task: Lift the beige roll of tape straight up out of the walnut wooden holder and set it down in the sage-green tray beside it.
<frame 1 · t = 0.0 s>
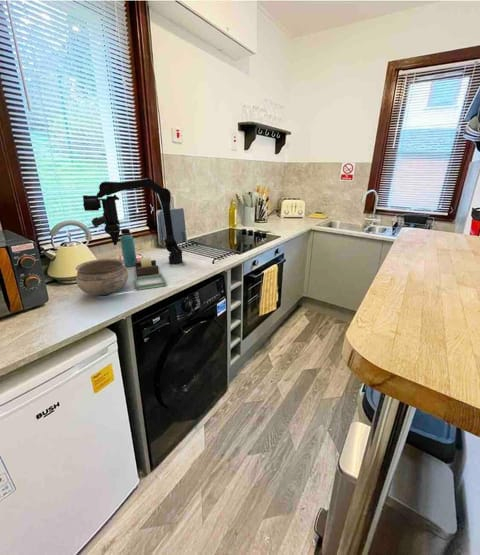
hand: (115, 242, 132), 15 cm above the table, tool pointing down, fingers open, 9 cm apart
beverage bottle: (131, 267, 144), on the table
tray: (150, 283, 123), on the table
tape roll: (147, 271, 134), point 1 cm above the table, touching tape holder
tape holder: (147, 273, 135), on the table
brown bowl: (106, 293, 114), on the table
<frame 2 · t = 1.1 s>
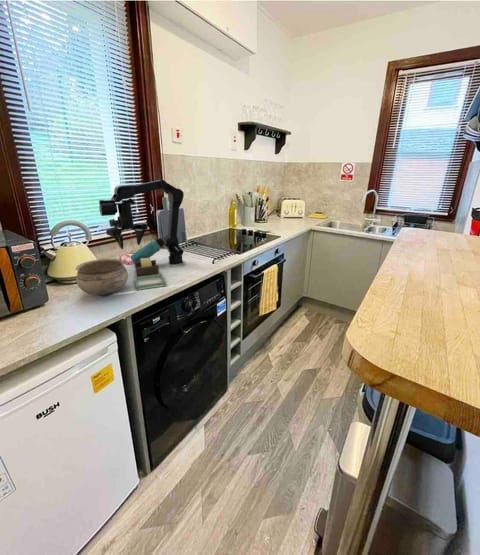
hand: (130, 246, 131), 13 cm above the table, tool pointing down, fingers open, 9 cm apart
beverage bottle: (132, 262, 143), point 3 cm above the table, touching arm
everything else where it was.
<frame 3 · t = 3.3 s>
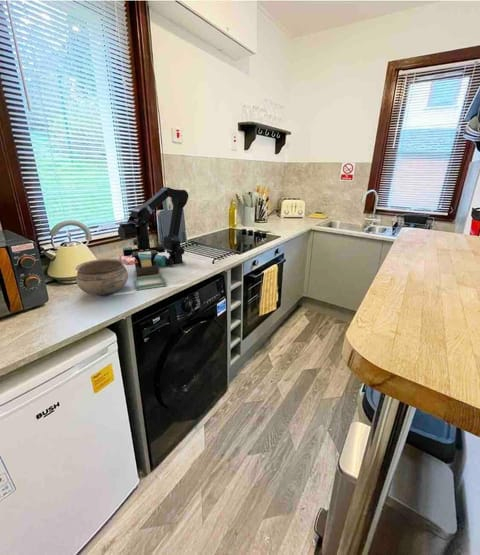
hand: (146, 266, 133), 4 cm above the table, tool pointing down, fingers closed on tape roll, 4 cm apart
beverage bottle: (137, 259, 146), point 3 cm above the table
tape roll: (147, 271, 134), point 1 cm above the table, tilted 6°, touching gripper, tape holder
everything else where it was.
when the fingers open (3 cm above the table, at t = 8.9 s): tape roll stays where it is, resting on tray.
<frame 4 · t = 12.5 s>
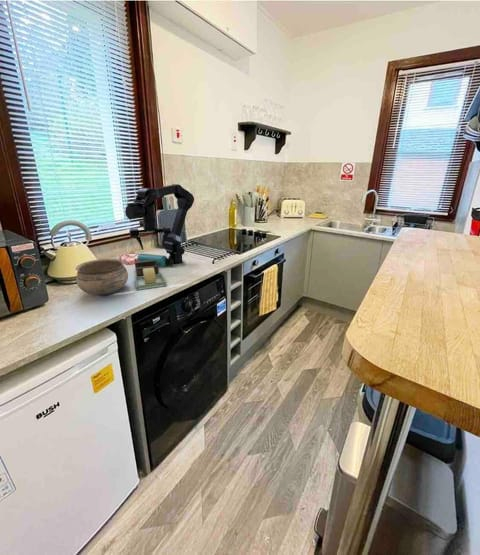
hand: (152, 248, 132), 12 cm above the table, tool pointing down, fingers open, 9 cm apart
tape roll: (150, 282, 122), point 1 cm above the table, tilted 9°, touching tray
everything else where it was.
at the end: tape roll inside the target area in the tray (0.0 cm from its centre), point 0.6 cm above the tray's base; tape roll moved 14.0 cm from its start; the gripper is holding nothing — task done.
